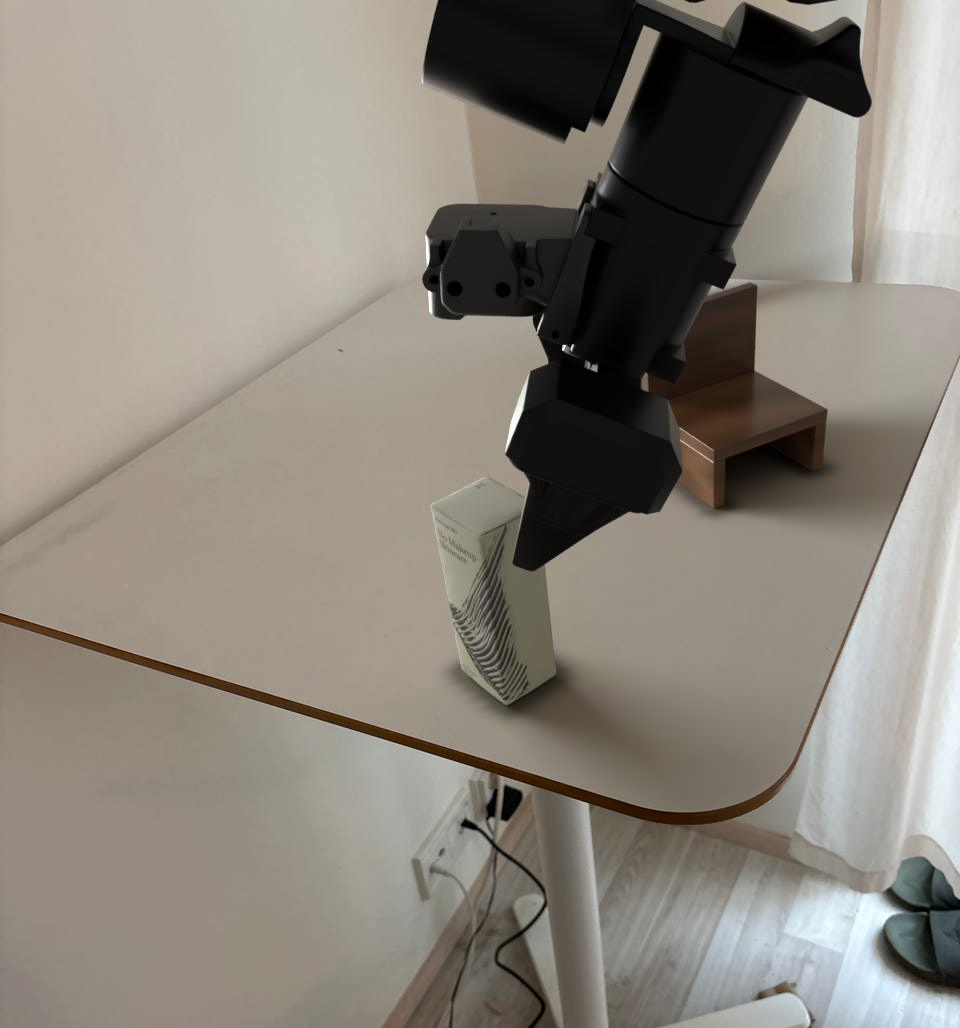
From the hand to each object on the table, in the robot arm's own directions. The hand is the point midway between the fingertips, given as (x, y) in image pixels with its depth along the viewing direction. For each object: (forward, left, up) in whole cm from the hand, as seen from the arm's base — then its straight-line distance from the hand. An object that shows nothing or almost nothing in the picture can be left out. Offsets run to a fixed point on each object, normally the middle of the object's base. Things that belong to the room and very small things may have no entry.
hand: (530, 511), depth 46 cm
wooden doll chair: (+6, -32, -16) cm, 37 cm away
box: (+6, -3, -16) cm, 17 cm away
